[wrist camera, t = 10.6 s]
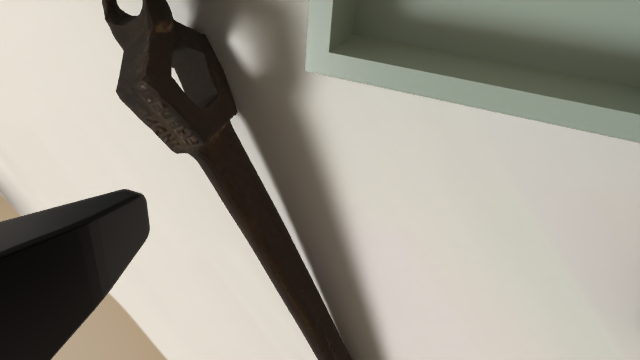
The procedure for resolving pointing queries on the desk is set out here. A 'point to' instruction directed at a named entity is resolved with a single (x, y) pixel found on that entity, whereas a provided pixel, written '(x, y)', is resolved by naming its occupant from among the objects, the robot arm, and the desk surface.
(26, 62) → the desk surface
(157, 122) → the wrench
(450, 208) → the desk surface
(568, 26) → the parts tray
